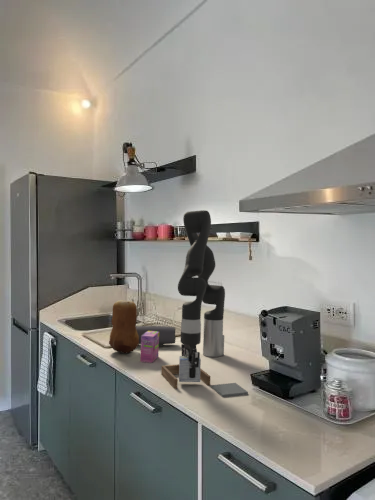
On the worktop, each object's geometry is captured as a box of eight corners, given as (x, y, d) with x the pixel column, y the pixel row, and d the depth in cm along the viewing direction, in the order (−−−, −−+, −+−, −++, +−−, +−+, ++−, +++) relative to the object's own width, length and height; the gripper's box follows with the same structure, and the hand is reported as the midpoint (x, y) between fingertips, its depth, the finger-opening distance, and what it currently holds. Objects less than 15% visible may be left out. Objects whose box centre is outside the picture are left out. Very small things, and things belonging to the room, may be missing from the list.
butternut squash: (134, 348, 206) (136, 298, 205) (141, 355, 193) (143, 301, 193) (106, 349, 201) (108, 298, 200) (111, 357, 188) (113, 302, 188)
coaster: (235, 384, 156) (235, 382, 156) (248, 394, 147) (248, 392, 147) (211, 387, 153) (211, 385, 153) (222, 397, 143) (222, 394, 143)
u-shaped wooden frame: (193, 371, 171) (194, 363, 171) (210, 385, 155) (210, 376, 155) (161, 374, 166) (161, 365, 166) (174, 388, 150) (174, 379, 150)
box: (152, 363, 181) (153, 336, 181) (140, 361, 182) (140, 335, 182) (158, 356, 191) (159, 331, 191) (147, 355, 193) (147, 330, 192)
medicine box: (199, 378, 158) (200, 356, 157) (200, 382, 153) (200, 359, 153) (178, 378, 157) (179, 355, 157) (178, 382, 153) (179, 358, 153)
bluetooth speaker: (130, 347, 206) (130, 327, 206) (130, 343, 216) (131, 324, 216) (175, 347, 209) (175, 328, 208) (174, 343, 218) (174, 324, 218)
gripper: (207, 334, 149) (205, 380, 150) (193, 326, 163) (192, 368, 163) (187, 335, 147) (186, 382, 147) (175, 326, 160) (174, 370, 161)
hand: (189, 375), depth 155 cm, fingers closed on medicine box, 5 cm apart
